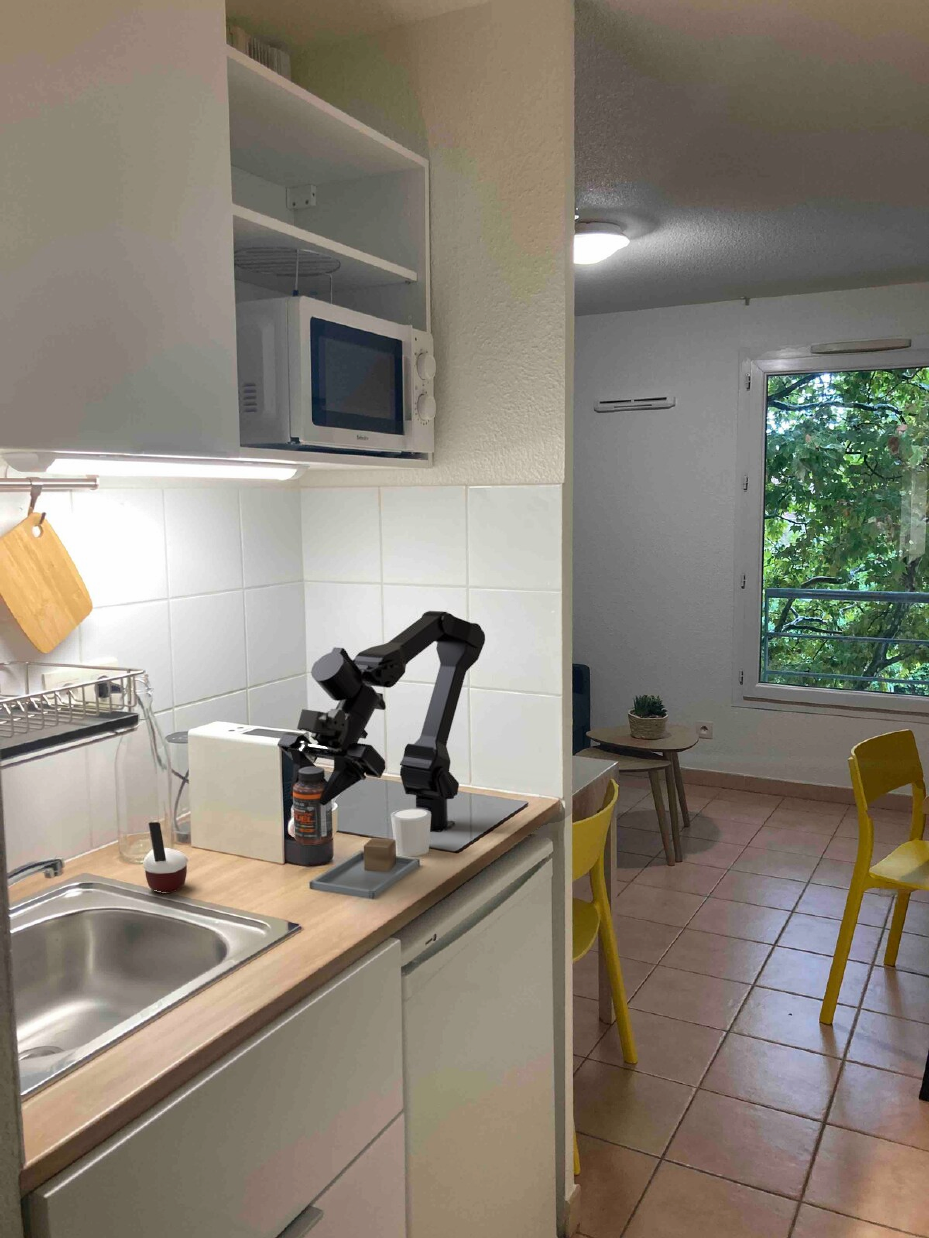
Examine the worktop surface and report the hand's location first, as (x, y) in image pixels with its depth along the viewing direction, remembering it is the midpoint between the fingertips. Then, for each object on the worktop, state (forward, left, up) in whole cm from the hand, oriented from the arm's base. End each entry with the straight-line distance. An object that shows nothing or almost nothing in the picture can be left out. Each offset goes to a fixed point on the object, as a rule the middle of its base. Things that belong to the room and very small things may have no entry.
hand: (306, 800), depth 153 cm
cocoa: (+10, -19, -13) cm, 26 cm away
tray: (-5, +8, -13) cm, 16 cm away
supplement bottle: (-1, 0, -7) cm, 7 cm away
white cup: (-18, +8, -13) cm, 24 cm away
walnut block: (-9, +8, -13) cm, 17 cm away
